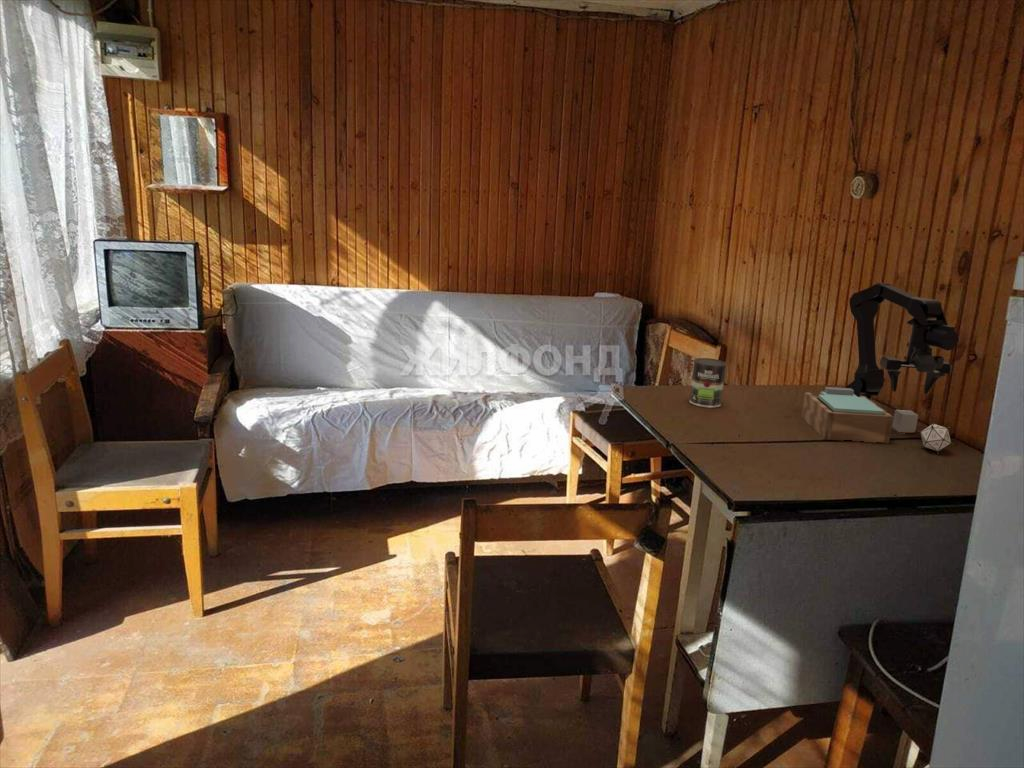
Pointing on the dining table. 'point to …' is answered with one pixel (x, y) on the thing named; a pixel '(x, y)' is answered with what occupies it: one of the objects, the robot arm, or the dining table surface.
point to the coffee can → (707, 382)
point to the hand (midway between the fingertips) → (909, 392)
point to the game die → (935, 437)
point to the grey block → (905, 421)
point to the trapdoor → (847, 401)
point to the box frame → (846, 422)
